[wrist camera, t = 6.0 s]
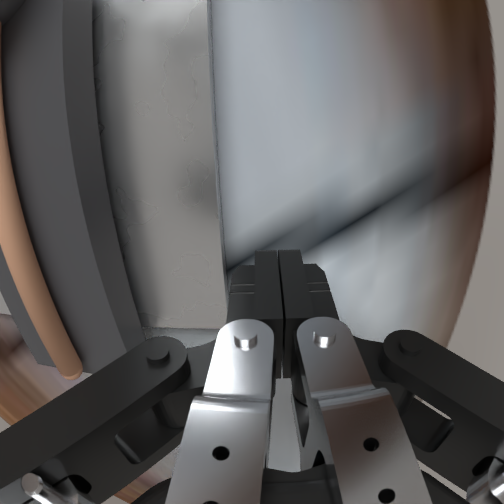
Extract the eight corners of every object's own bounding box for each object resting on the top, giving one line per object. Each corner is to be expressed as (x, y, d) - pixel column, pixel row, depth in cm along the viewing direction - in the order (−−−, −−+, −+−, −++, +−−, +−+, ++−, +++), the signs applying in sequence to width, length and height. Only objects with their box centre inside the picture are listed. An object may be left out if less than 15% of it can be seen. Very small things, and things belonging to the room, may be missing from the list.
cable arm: (-12, -17, 6) (-72, -23, 2) (98, -73, 6) (46, -111, 2) (53, 338, 15) (22, 391, 11) (148, 348, 15) (126, 414, 11)
